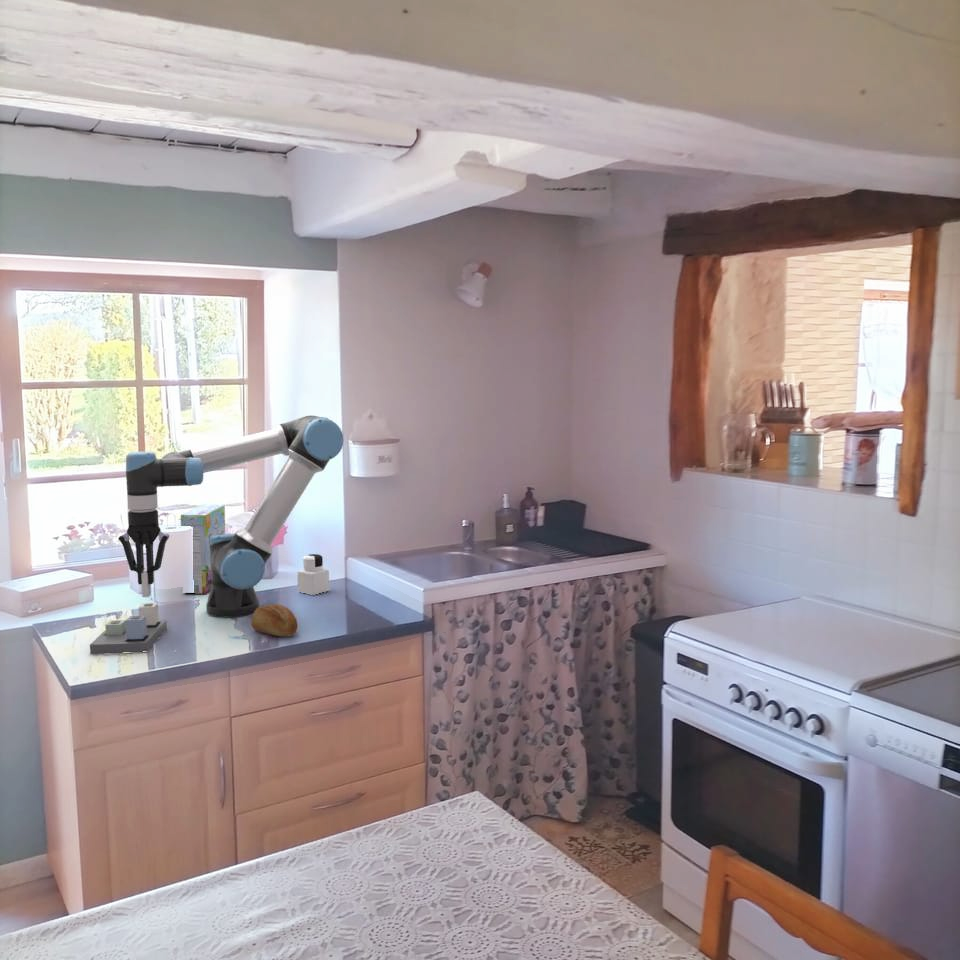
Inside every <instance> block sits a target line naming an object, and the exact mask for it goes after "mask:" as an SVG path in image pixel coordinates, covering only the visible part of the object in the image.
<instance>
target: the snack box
mask: <svg viewBox="0 0 960 960" xmlns="http://www.w3.org/2000/svg"><path fill="white" fill-rule="evenodd" d="M225 513H226V508H225V505H224V504H201V505H199V506H196V507H194V508H192V509H190V510H188V511H186V512H183V513H181V514H180V527H181V526H191V527H193V580H194V593H195V594H196V595H206V594H209V593H210V590H211V586H212V583H211V561H210V548H209V545H210V538H211V537H212V536H215V535H222V534H226V514H225ZM195 594H194V595H195Z"/></svg>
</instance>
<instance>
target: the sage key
mask: <svg viewBox="0 0 960 960" xmlns="http://www.w3.org/2000/svg"><path fill="white" fill-rule="evenodd" d="M125 620H126V619H119V620H118V619H116V620H114V619H113V620H109V621H107V623H106V624H105V625H104V626H105V627H104V628H105V630H106V635H124V633H125V632H126V621H125Z"/></svg>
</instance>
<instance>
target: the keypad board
mask: <svg viewBox="0 0 960 960" xmlns="http://www.w3.org/2000/svg"><path fill="white" fill-rule="evenodd" d="M167 623H168V622H167V619H165V620H163V619H161V620H160V619H159V621H158V622H157V623H156V624H155V625H146V627H147V635H146V636H145V637H144V638H143V639H127V638H126V632H125V633H124V635H106V629H105V630H103V632H102V633H100V634H99V635H98V637H96V638H95V639H94V640H93V641H92V642H91V643H90V644H89V652H90V654H89V655H105V653H113V654H124V653H123V652H143V651H148V650H149V649H150V650H151V648H152V647H153V646H154V645H155V644H156V643H157V641H158V640H159V639H160V638H161V637H162V635H163V634H164V633H165V632H166V631H167V630H168V626H167ZM165 630H166V631H165ZM164 631H165V632H164ZM163 632H164V633H163ZM162 633H163V634H162ZM160 636H161V637H160ZM159 637H160V638H159ZM158 638H159V639H158ZM155 642H156V643H155ZM154 643H155V644H154ZM153 644H154V645H153ZM152 645H153V646H152ZM150 650H149V651H150ZM149 651H148V652H149Z"/></svg>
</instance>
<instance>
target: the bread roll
mask: <svg viewBox="0 0 960 960" xmlns="http://www.w3.org/2000/svg"><path fill="white" fill-rule="evenodd" d="M250 625H251V627H252V628H253V630H254V631H256V632H261V633H264V634H269V635H273V636H276V637H277V636H278V637H290V636H289V635H291V636H294V635H296V633H297V629H298V626H299V625H298V620H297V617H296V616H295V613H293V611H292V610H290V609H289V608H288V607H286V606H284V605H283V604H278V603H277V604H276V603H275V604H274V603H270V604H266V605H260V606H259V608H257V609H256V610H255V611H254V613H252V617H251V623H250ZM293 634H294V635H293Z"/></svg>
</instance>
